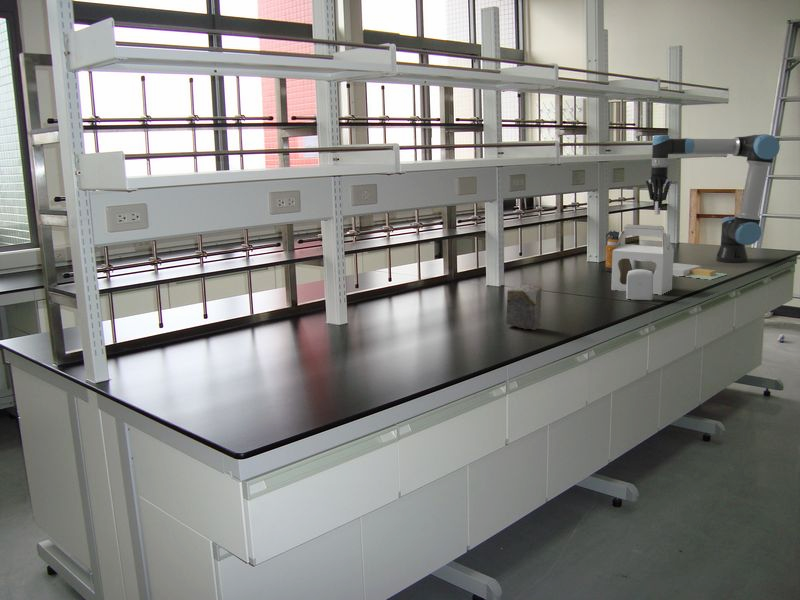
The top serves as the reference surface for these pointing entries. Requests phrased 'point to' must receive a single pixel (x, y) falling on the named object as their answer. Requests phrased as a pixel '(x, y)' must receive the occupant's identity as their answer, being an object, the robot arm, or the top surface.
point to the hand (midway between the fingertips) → (657, 214)
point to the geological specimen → (524, 307)
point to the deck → (683, 269)
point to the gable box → (643, 258)
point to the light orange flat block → (703, 272)
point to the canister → (610, 248)
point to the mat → (707, 276)
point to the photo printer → (639, 285)
